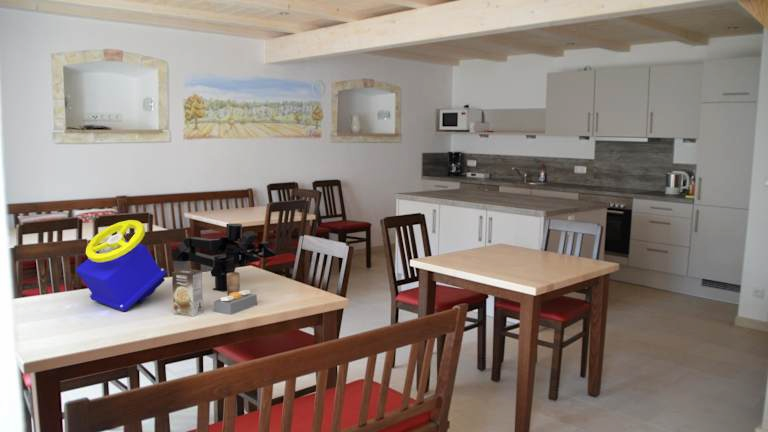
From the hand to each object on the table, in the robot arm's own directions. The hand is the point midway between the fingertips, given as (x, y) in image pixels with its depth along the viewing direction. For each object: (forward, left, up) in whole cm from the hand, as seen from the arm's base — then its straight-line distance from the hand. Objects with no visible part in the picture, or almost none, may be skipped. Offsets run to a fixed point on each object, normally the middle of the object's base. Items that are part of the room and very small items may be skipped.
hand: (267, 257), depth 255 cm
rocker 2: (-1, -14, -12) cm, 18 cm away
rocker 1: (-1, -23, -12) cm, 26 cm away
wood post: (-12, -7, -17) cm, 22 cm away
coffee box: (-12, -32, -17) cm, 38 cm away
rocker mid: (-1, -18, -12) cm, 22 cm away
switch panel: (-1, -18, -17) cm, 25 cm away
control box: (-41, -35, -17) cm, 57 cm away
